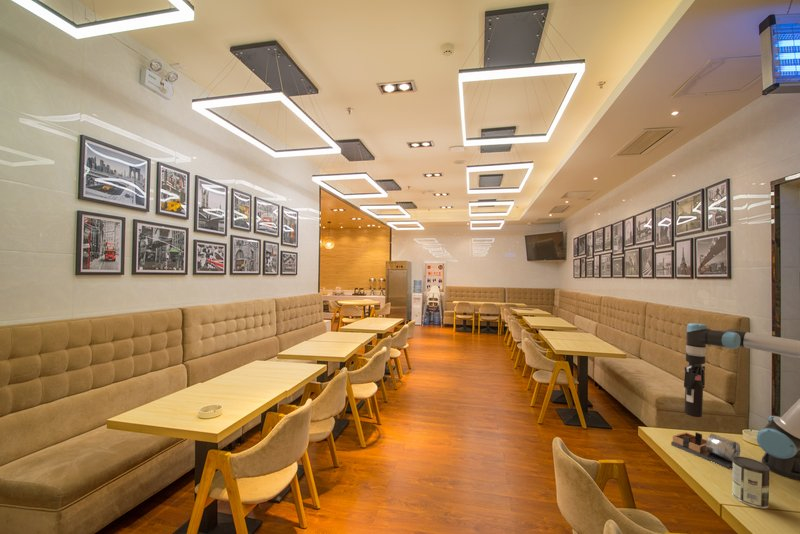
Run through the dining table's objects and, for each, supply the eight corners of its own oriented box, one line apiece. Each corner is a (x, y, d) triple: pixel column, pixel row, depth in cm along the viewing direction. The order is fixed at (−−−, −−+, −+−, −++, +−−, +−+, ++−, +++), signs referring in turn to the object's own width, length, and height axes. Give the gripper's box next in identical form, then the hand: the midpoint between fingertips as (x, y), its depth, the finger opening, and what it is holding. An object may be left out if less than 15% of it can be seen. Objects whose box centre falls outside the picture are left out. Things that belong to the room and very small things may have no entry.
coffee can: (754, 493, 139) (755, 458, 139) (776, 511, 129) (778, 472, 129) (724, 489, 141) (725, 454, 141) (743, 506, 131) (745, 468, 131)
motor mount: (743, 463, 162) (744, 440, 163) (728, 469, 157) (729, 445, 157) (685, 440, 183) (686, 420, 183) (671, 444, 178) (672, 424, 178)
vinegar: (681, 412, 177) (682, 373, 177) (689, 411, 180) (690, 372, 180) (697, 418, 171) (698, 377, 171) (705, 416, 174) (706, 376, 174)
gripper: (697, 351, 183) (695, 396, 183) (675, 354, 175) (674, 400, 175) (715, 355, 176) (713, 401, 176) (693, 357, 168) (691, 406, 168)
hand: (693, 400), depth 175 cm, fingers closed on vinegar, 6 cm apart
